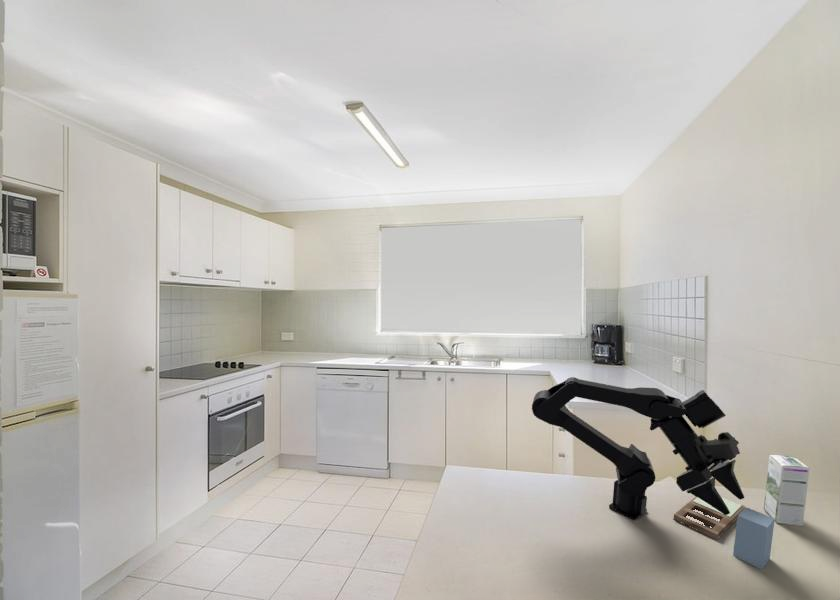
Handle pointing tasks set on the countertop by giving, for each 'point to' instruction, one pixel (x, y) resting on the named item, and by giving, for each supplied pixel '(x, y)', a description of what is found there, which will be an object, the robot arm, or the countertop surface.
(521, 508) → the countertop surface
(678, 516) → the board
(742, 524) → the blue block
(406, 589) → the countertop surface
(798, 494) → the syrup box
